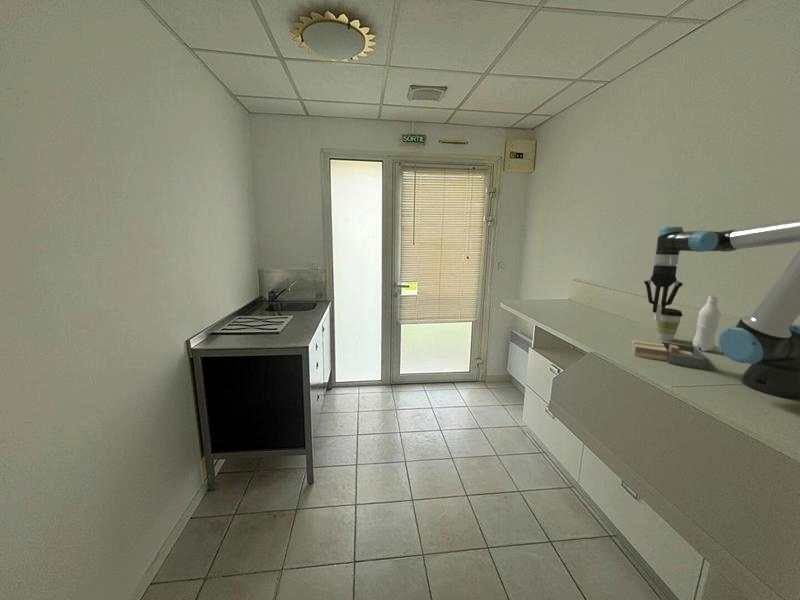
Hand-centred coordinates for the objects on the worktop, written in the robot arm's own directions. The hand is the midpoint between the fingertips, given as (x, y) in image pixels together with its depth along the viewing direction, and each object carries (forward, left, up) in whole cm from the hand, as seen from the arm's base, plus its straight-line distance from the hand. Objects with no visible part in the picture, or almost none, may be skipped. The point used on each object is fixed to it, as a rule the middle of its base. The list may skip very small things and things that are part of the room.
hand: (656, 320), depth 140 cm
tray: (+1, -11, -16) cm, 19 cm away
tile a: (+1, -6, -13) cm, 14 cm away
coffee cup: (+31, -10, -16) cm, 36 cm away
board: (+1, +1, -16) cm, 16 cm away
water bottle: (+21, -22, -16) cm, 34 cm away
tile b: (+1, -11, -13) cm, 17 cm away
